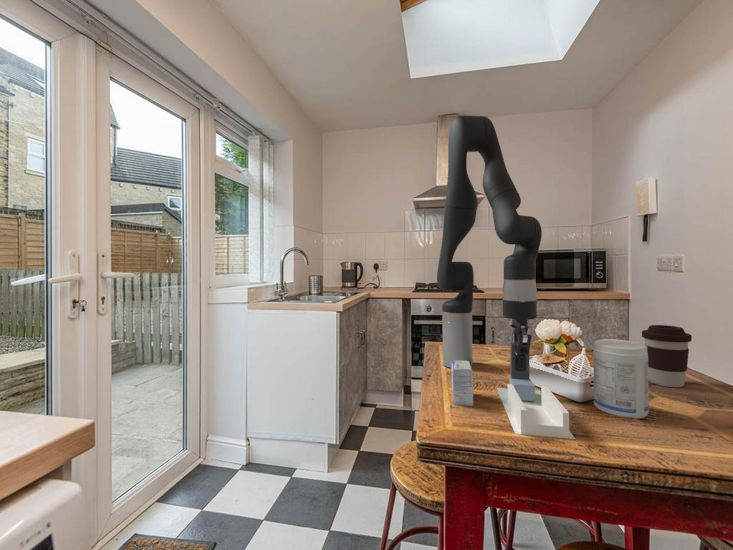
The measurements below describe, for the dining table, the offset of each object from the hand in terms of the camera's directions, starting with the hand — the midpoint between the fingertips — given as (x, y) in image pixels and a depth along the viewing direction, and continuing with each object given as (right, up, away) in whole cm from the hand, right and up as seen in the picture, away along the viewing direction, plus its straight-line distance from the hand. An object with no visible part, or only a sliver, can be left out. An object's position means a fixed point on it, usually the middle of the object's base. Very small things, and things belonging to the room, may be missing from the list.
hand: (519, 369), depth 84 cm
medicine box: (-15, -7, -2) cm, 16 cm away
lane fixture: (-2, -7, -9) cm, 11 cm away
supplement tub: (+17, -7, -9) cm, 21 cm away
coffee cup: (+42, -6, +7) cm, 43 cm away
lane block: (0, -6, -2) cm, 6 cm away
